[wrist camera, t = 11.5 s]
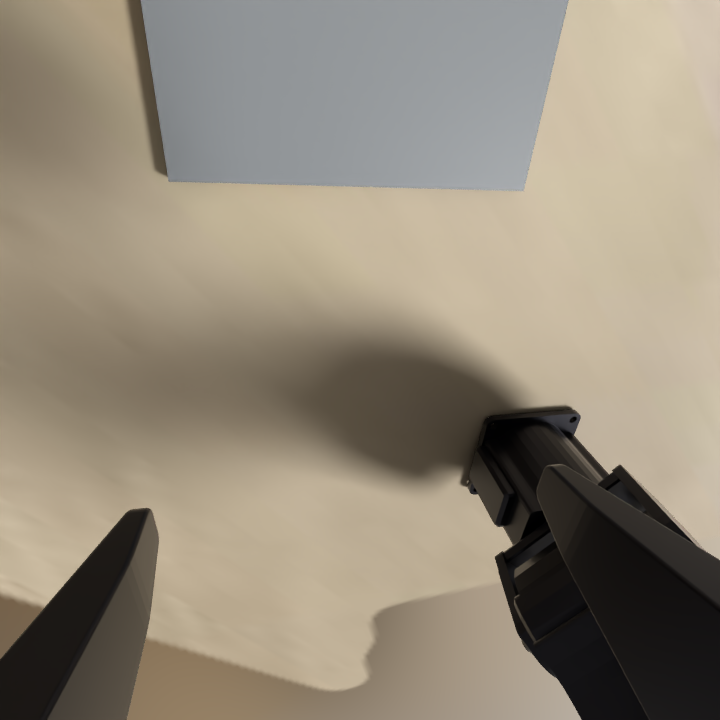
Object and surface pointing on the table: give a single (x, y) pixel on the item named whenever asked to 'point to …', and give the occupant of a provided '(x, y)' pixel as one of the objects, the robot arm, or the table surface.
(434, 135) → the square frame board
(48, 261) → the table surface
